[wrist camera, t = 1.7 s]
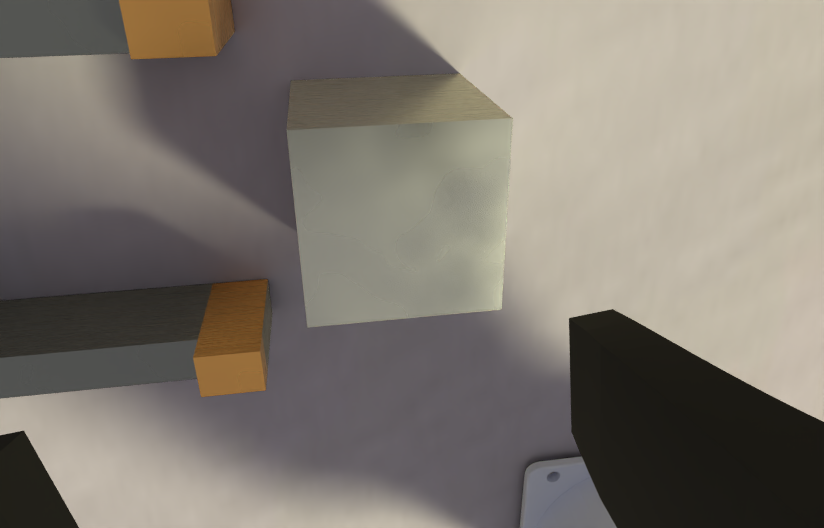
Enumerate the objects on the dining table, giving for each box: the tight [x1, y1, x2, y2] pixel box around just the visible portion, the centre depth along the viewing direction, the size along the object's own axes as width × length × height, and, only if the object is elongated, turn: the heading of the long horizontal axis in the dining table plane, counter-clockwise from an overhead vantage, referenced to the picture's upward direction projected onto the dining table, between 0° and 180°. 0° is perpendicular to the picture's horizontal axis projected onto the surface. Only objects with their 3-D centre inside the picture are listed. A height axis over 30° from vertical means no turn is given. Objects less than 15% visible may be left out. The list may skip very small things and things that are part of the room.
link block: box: [287, 73, 513, 328], centre depth 16 cm, size 4×4×5 cm
